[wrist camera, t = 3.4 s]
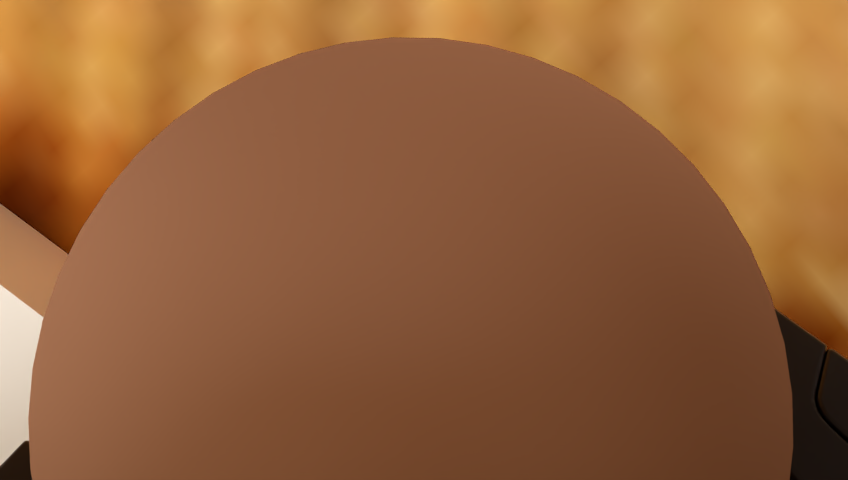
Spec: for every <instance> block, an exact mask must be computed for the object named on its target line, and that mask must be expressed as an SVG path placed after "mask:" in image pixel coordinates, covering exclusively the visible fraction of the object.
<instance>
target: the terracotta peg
mask: <svg viewBox="0 0 848 480" xmlns="http://www.w3.org/2000/svg"><path fill="white" fill-rule="evenodd" d="M28 425H29V449H30V470H31V476H32V480H790V471H791V462H792V453H793V409H792V390H791V383H790V377H789V370H788V363H787V357H786V350H785V344H784V340H783V337H782V333H781V330H780V326H779V323H778V319H777V316H776V312H775V309H774V305H773V302H772V298H771V295H770V292H769V290H768V288H767V285H766V283H765V281H764V278H763V276H762V274H761V271H760V269H759V267H758V265H757V262H756V260H755V258H754V255H753V253H752V251H751V248H750V246H749V245H748V243H747V241H746V240H745V238H744V236H743V235H742V233H741V231H740V230H739V228H738V226H737V225H736V223H735V221H734V220H733V218H732V216H731V215H730V213H729V211H728V209H727V208H726V206H725V204H724V203H723V202H722V201H721V199H720V198H719V197H718V195H717V194H716V193H715V192H714V190H713V189H712V188H711V187H710V185H709V184H708V183H707V181H706V180H705V179H704V178H703V176H702V175H701V174H700V172H699V171H698V170H697V169H696V167H695V166H694V165H693V164H692V163H691V162H690V161H689V160H688V159H687V158H686V157H685V156H684V155H683V154H682V153H681V152H680V151H679V150H678V149H677V148H676V147H675V146H674V145H673V144H672V143H671V142H670V141H669V140H668V139H667V138H666V137H665V136H664V135H663V134H662V133H661V132H660V131H659V130H657V129H656V128H655V127H653V126H652V125H651V124H649V123H648V122H647V121H646V120H644V119H643V118H642V117H640V116H639V115H638V114H636V113H635V112H634V111H632V110H631V109H630V108H628V107H627V106H626V105H625V104H623V103H622V102H621V101H619V100H617V99H616V98H614V97H612V96H611V95H609V94H607V93H605V92H604V91H602V90H600V89H598V88H597V87H595V86H593V85H592V84H590V83H588V82H586V81H585V80H583V79H581V78H579V77H578V76H575V75H573V74H571V73H568V72H566V71H563V70H561V69H559V68H556V67H554V66H551V65H549V64H547V63H544V62H542V61H539V60H537V59H535V58H532V57H528V56H525V55H521V54H517V53H514V52H510V51H507V50H503V49H499V48H496V47H492V46H488V45H483V44H476V43H469V42H462V41H455V40H448V39H441V38H384V39H375V40H366V41H357V42H348V43H342V44H338V45H334V46H330V47H326V48H322V49H318V50H313V51H309V52H305V53H301V54H298V55H295V56H292V57H290V58H287V59H285V60H282V61H279V62H277V63H274V64H271V65H269V66H266V67H263V68H261V69H258V70H256V71H254V72H252V73H250V74H248V75H246V76H244V77H242V78H240V79H238V80H237V81H235V82H233V83H231V84H229V85H227V86H225V87H223V88H221V89H220V90H218V91H216V92H214V93H212V94H211V95H209V96H208V97H207V98H205V99H204V100H202V101H201V102H200V103H198V104H197V105H195V106H194V107H192V108H191V109H190V110H188V111H187V112H185V113H184V114H182V115H181V116H180V117H178V118H177V119H175V120H174V121H173V122H172V123H171V124H170V125H168V126H167V127H166V128H165V129H164V130H163V131H162V132H161V133H160V134H159V135H158V136H156V137H155V138H154V139H153V140H152V141H151V142H150V143H149V144H148V145H147V146H145V147H144V148H143V149H142V150H141V151H140V152H139V153H138V154H137V155H136V156H135V158H134V159H133V160H132V161H131V162H130V163H129V165H128V166H127V167H126V168H125V169H124V170H123V172H122V173H121V174H120V175H119V176H118V177H117V179H116V180H115V181H114V182H113V183H112V184H111V186H110V187H109V188H108V189H107V190H106V192H105V194H104V195H103V197H102V198H101V200H100V201H99V203H98V204H97V206H96V207H95V209H94V210H93V212H92V213H91V215H90V216H89V218H88V219H87V221H86V222H85V224H84V225H83V227H82V228H81V230H80V232H79V234H78V236H77V238H76V240H75V242H74V244H73V246H72V248H71V250H70V252H69V254H68V256H67V258H66V260H65V262H64V264H63V266H62V268H61V270H60V272H59V275H58V278H57V281H56V283H55V286H54V289H53V292H52V295H51V298H50V301H49V304H48V306H47V309H46V312H45V315H44V318H43V321H42V326H41V331H40V335H39V340H38V345H37V350H36V354H35V359H34V364H33V368H32V380H31V392H30V403H29V415H28Z"/></svg>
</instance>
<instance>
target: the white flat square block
mask: <svg viewBox="0 0 848 480" xmlns="http://www.w3.org/2000/svg"><path fill="white" fill-rule="evenodd" d="M67 256H68V254H67V253H66V252H65V251H63V250H62V249H61V248H59V247H58V246H57V245H55V244H54V243H53V242H51V241H50V240H48V239H47V238H46V237H44V236H43V235H42V234H40V233H39V232H38V231H36V230H35V229H34V228H32V227H31V226H30V225H28V224H27V223H26V222H24V221H23V220H22V219H20V218H19V217H18V216H16V215H15V214H14V213H12V212H11V211H10V210H8V209H7V208H6V207H4V206H3V205H2V204H0V465H1V464H2V463H3V462H4V461H5V460H6V459H7V458H8V457H9V456H10V455H11V454H12V453H13V452H14V451H15V450H16V449H17V448H18V447H19V446H20V445H21V444H22V443H23V442H24V441H29V425H28V415H29V403H30V392H31V380H32V368H33V364H34V359H35V354H36V350H37V345H38V340H39V335H40V331H41V326H42V321H43V318H44V315H45V312H46V309H47V306H48V304H49V301H50V298H51V295H52V292H53V289H54V286H55V283H56V281H57V278H58V275H59V272H60V270H61V268H62V266H63V264H64V262H65V260H66V258H67Z"/></svg>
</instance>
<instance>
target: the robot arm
mask: <svg viewBox="0 0 848 480" xmlns="http://www.w3.org/2000/svg"><path fill="white" fill-rule="evenodd" d="M774 309H775V308H774ZM775 312H776V316H777V319H778V323H779V326H780V330H781V333H782V337H783V340H784V344H785V350H786V357H787V363H788V370H789V377H790V383H791V390H792V409H793V453H792V462H791V471H790V480H848V359H846V358H845V357H844V356H842V355H841V354H839V353H838V352H836V351H835V350H833V349H829V350H827V346H826V344H825V343H823V342H822V341H820V340H819V339H818V338H816V337H815V336H813V335H812V334H810V333H809V332H808V331H806V330H805V329H803V328H802V327H801V326H799V325H798V324H796V323H795V322H794V321H792V320H791V319H789V318H788V317H786V316H785V315H784V314H782V313H781V312H779V311H778V310H777V309H775ZM826 351H827V352H826ZM0 480H32V476H31V470H30V449H29V441H24V442H23V443H22V444H21V445H20V446H19V447H18V448H17V449H16V450H15V451H14V452H13V453H12V454H11V455H10V456H9V457H8V458H7V459H6V460H5V461H4V462H3V463H2V464H1V465H0Z"/></svg>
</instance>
